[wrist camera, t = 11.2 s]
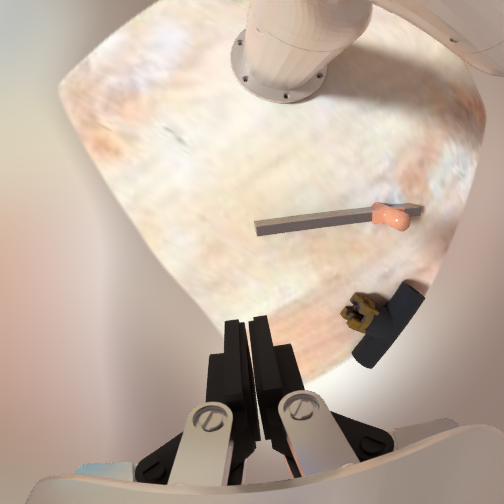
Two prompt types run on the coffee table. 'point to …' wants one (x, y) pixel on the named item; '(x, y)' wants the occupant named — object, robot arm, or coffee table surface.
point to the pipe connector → (380, 322)
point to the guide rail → (342, 219)
